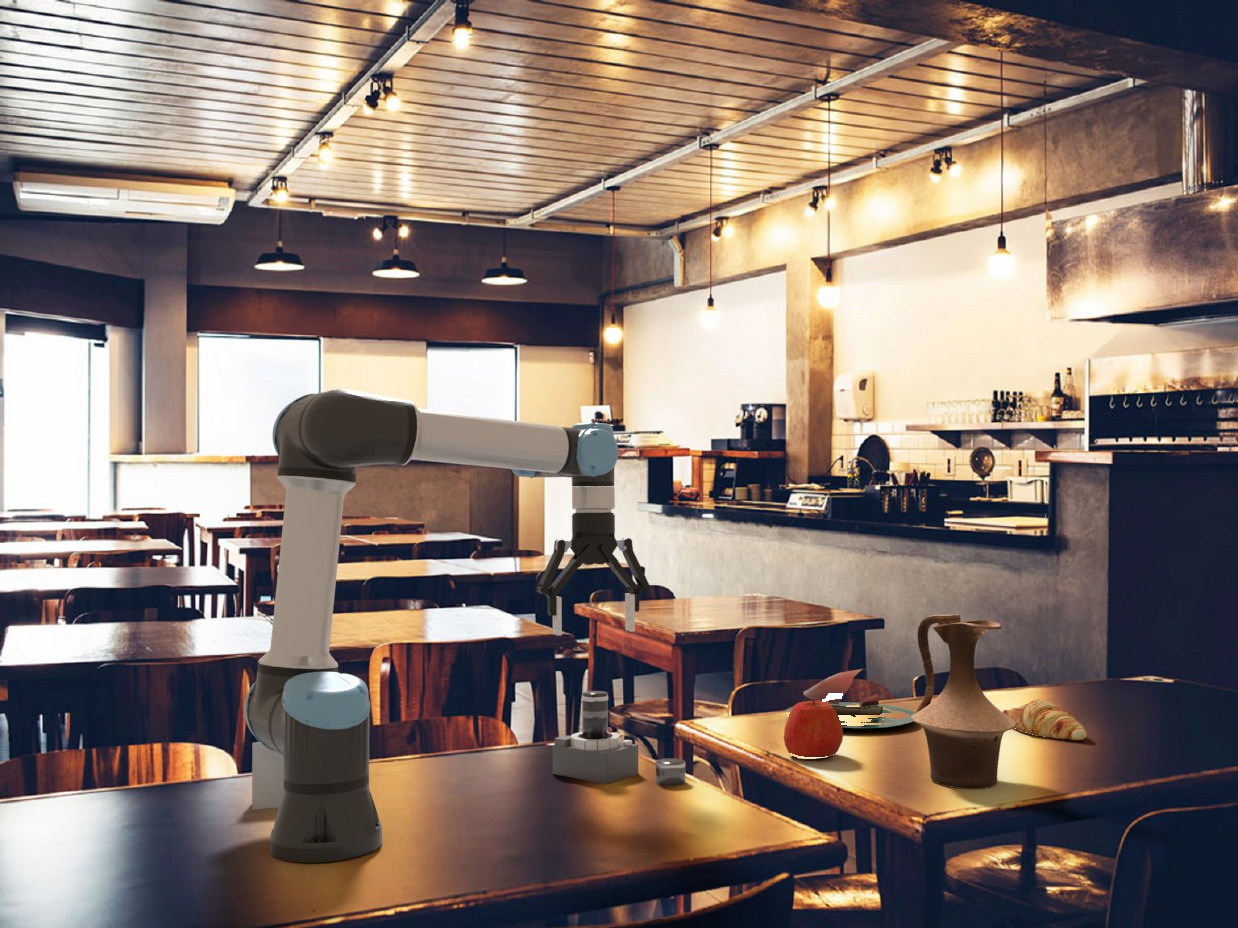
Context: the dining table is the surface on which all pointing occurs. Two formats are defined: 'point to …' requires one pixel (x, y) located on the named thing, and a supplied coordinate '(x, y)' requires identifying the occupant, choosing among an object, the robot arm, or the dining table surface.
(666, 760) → the cylinder
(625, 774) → the camera body
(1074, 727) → the croissant
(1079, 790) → the dining table surface
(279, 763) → the light grey rectangular block
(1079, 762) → the dining table surface
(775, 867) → the dining table surface
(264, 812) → the dining table surface
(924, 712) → the pitcher
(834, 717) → the apple
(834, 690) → the plate
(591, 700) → the lens
